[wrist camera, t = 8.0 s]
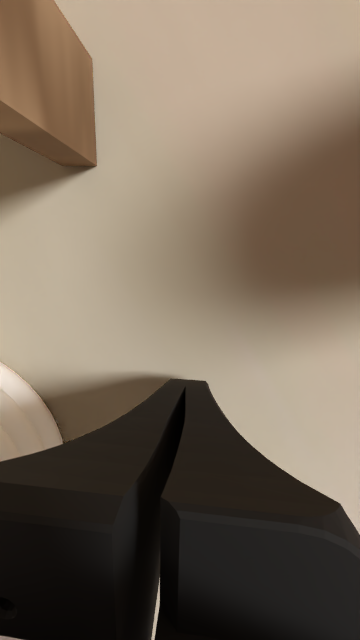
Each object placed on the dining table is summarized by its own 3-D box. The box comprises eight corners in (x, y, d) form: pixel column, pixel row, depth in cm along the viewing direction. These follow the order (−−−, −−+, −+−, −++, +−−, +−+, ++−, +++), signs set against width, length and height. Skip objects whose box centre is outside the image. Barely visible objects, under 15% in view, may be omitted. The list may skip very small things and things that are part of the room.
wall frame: (115, 591, 15) (34, 871, 8) (91, 588, 15) (-6, 862, 8) (92, 58, 9) (-225, -426, 3) (55, 60, 9) (-340, -399, 3)
